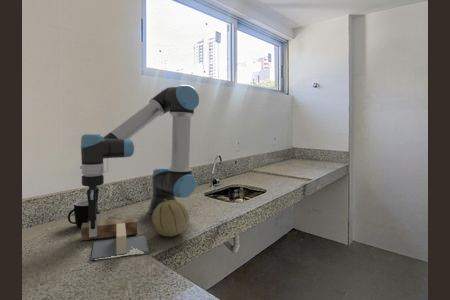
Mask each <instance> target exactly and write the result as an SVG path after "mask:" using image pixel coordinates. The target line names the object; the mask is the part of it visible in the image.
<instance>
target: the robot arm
mask: <svg viewBox="0 0 450 300" xmlns="http://www.w3.org/2000/svg"><path fill="white" fill-rule="evenodd" d="M199 103H200V97H199V93H198V91H197V90H196V89H195V88H194V87H193V86H192V85H188V84H180V85H177V86H176V85H175V86H170V87H166V88H165V89H162V90H161V91H160V92H158V93H157V94H155V96H153V97H152V98H151V99H150V100H149V102H148V103H147V104H146V105H145V106H144V107H142V108H140V110H138V111H137V112H135V113H134V114H133V115H132V116H130V117H129V118H127V119H126V120H124V121H123V122H122V123H120V124H119V125H118V126H117V127H115V128H114V129H113V130H111V131H110V132H108V133H107V134H106V135H105V136H103V134H100V133H99V134H97V133H96V134H90V133H86V134H83V135H81V138H80V139H81V140H80V154H81V155H80V156H81V166H79V169H81V175H82V176H81V185H82V186H83V187H88V188H87V190H86V195H87V200H88V214H89V218H88V219H87V221H89V237H97V222H99V216H98V215H100V211H99V207H98V206H99V205H98V203H99V202H98V201H99V194H100V188H98V187H97V186H102V185H104V183H105V182H104V173H105V171H104V170H105V169H104V167H105V166H104V165H105V163H104V159H117V158H122V159H123V158H124V159H125V158H129V157H132V156H133V155H134V152H135V145H134V142H133V140H131V138H133V137H134V136H135V135H137V134H138V133H139V132H140V131H141V130H143V129H144V128H146V127H147V126H148V125H149V124H150V123H152V122H153V121H154V120H156V119H157V118H158V117H161V116H163V115H165V114H166V113H168V112H169V114H170V115H171V116H172V132H171V134H172V135H171V163H170V164H171V165H170V166H169V167H163V168H162V167H161V168H155V169H153V171H152V198H151V199H150V204H149V206H148V213H149V212H150V213H149V214H151V215H152V214H153V211H154V209H155V208H156V207H157V206H158V205H159V204H160V203H162V202H164V201H163V199H166V200H176V201H177V199H176V198H178V199H179V198H182V199H185V198H189V197H190V196H191V195H192V194H193V193H194V192H195V191H196V188H197V180H196V178H195V176H194V175H193V170H192V168H191V166H190V151H191V150H190V147H191V146H190V145H191V144H190V142H191V119H192V117H193V116H194V114H195V109H196V108H197V107H198V106H199Z"/></svg>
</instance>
